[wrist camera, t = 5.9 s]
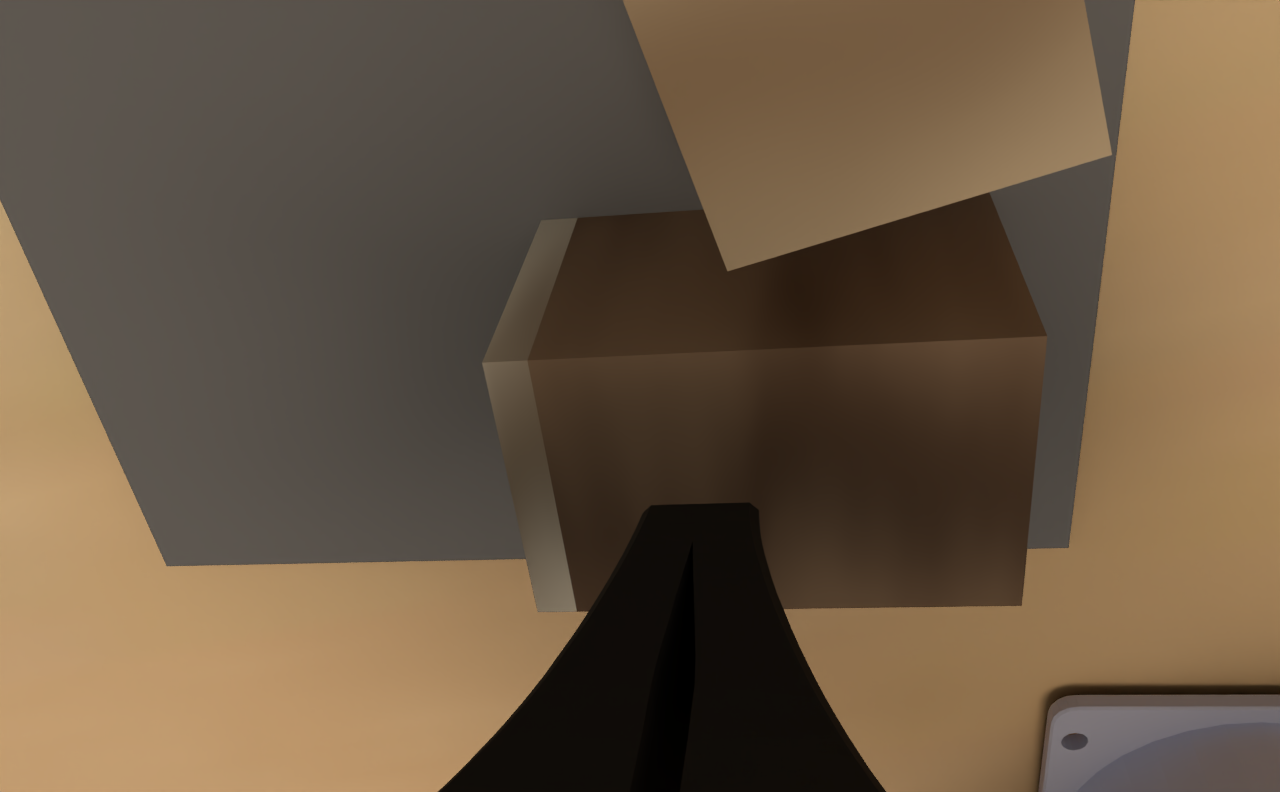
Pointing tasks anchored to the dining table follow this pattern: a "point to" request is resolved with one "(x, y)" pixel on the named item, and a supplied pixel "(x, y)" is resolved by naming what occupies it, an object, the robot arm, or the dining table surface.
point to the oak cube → (865, 107)
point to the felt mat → (380, 248)
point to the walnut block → (777, 403)
